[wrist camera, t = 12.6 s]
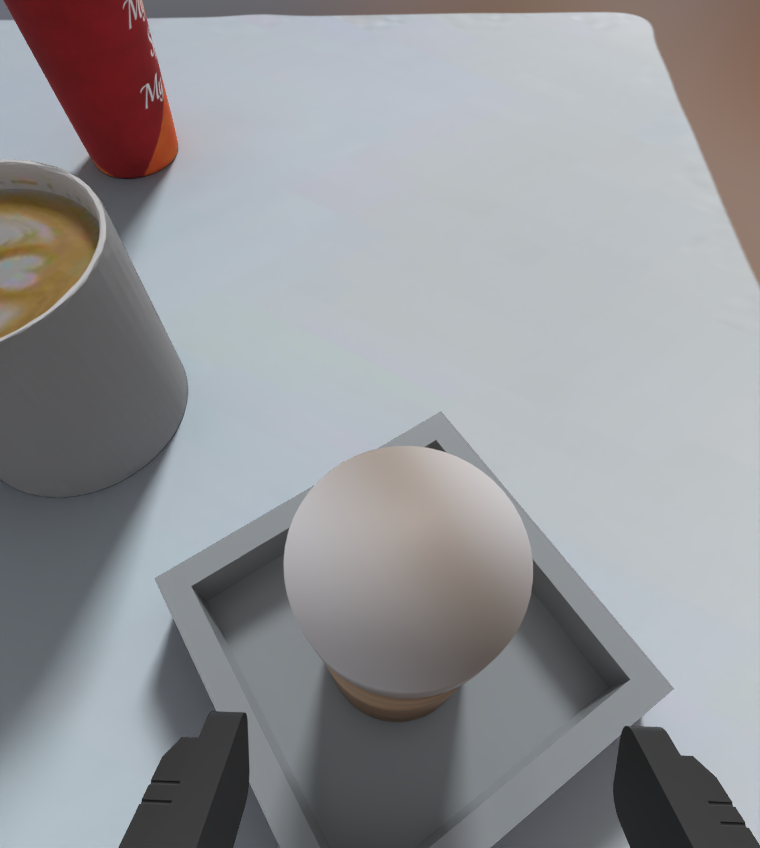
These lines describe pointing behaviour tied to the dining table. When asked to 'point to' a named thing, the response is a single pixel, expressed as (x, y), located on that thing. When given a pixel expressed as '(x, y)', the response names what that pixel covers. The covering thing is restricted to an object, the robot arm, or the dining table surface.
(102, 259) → the coffee mug
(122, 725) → the dining table surface
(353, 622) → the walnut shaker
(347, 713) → the stoneware tray
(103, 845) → the dining table surface
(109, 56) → the paper cup
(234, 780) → the robot arm
